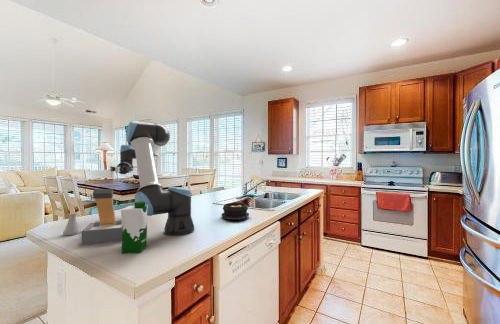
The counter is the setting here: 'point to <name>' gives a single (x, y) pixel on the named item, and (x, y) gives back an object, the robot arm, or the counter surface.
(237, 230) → the counter surface
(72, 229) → the flask
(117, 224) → the switch box
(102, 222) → the lever
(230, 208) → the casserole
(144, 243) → the milk carton
